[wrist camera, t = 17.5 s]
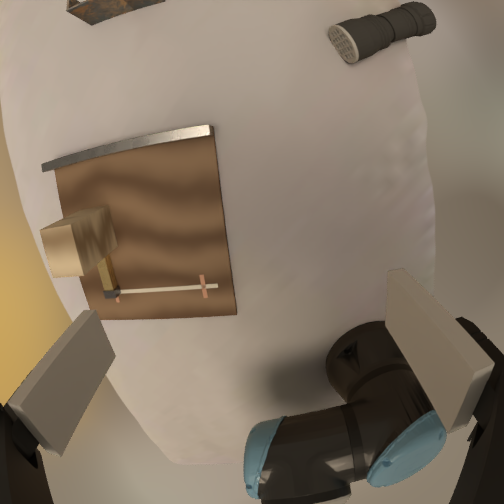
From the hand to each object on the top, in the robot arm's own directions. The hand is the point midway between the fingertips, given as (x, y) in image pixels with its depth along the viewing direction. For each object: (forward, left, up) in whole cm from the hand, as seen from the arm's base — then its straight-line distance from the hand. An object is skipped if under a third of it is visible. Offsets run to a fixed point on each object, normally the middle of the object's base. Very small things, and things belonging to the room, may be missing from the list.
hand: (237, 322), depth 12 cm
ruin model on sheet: (+31, +14, -28) cm, 44 cm away
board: (-3, +16, -28) cm, 32 cm away
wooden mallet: (-5, +21, -27) cm, 34 cm away
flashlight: (+22, -20, -28) cm, 41 cm away
